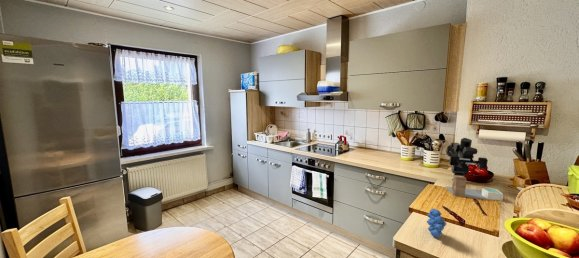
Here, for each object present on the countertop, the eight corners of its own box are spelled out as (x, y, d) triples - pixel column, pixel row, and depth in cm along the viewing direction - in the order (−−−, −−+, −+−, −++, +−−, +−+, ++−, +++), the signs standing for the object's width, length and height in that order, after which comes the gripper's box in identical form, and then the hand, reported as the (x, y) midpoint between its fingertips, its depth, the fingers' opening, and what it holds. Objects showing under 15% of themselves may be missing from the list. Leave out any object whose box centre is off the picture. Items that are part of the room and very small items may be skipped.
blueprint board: (444, 187, 156) (445, 180, 155) (488, 191, 149) (489, 184, 149) (453, 196, 141) (454, 189, 140) (503, 201, 134) (504, 193, 133)
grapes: (452, 246, 93) (454, 216, 92) (433, 244, 95) (435, 214, 93) (439, 230, 105) (441, 203, 103) (422, 228, 106) (424, 202, 104)
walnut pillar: (451, 192, 145) (453, 175, 144) (461, 193, 144) (462, 175, 143) (454, 196, 140) (456, 177, 139) (464, 197, 139) (466, 178, 138)
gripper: (449, 143, 156) (454, 154, 143) (485, 145, 149) (493, 157, 136) (447, 158, 160) (452, 171, 147) (481, 161, 153) (490, 174, 140)
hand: (471, 168), depth 142 cm, fingers open, 9 cm apart
